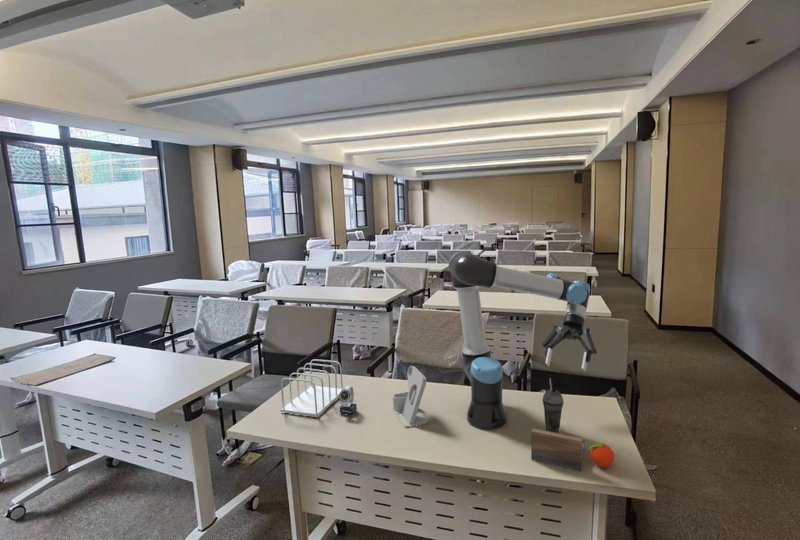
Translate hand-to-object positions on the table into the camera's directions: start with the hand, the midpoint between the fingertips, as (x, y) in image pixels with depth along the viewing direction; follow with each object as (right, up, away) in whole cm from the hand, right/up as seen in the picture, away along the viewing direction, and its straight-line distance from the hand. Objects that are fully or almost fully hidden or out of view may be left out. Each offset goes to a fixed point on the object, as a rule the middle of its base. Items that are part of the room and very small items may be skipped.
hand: (564, 367), depth 163 cm
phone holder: (-59, -22, +9) cm, 63 cm away
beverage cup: (-7, -22, -5) cm, 24 cm away
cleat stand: (-10, -24, -20) cm, 33 cm away
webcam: (-84, -22, +13) cm, 88 cm away
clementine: (+1, -25, -27) cm, 37 cm away
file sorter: (-100, -21, +24) cm, 105 cm away
